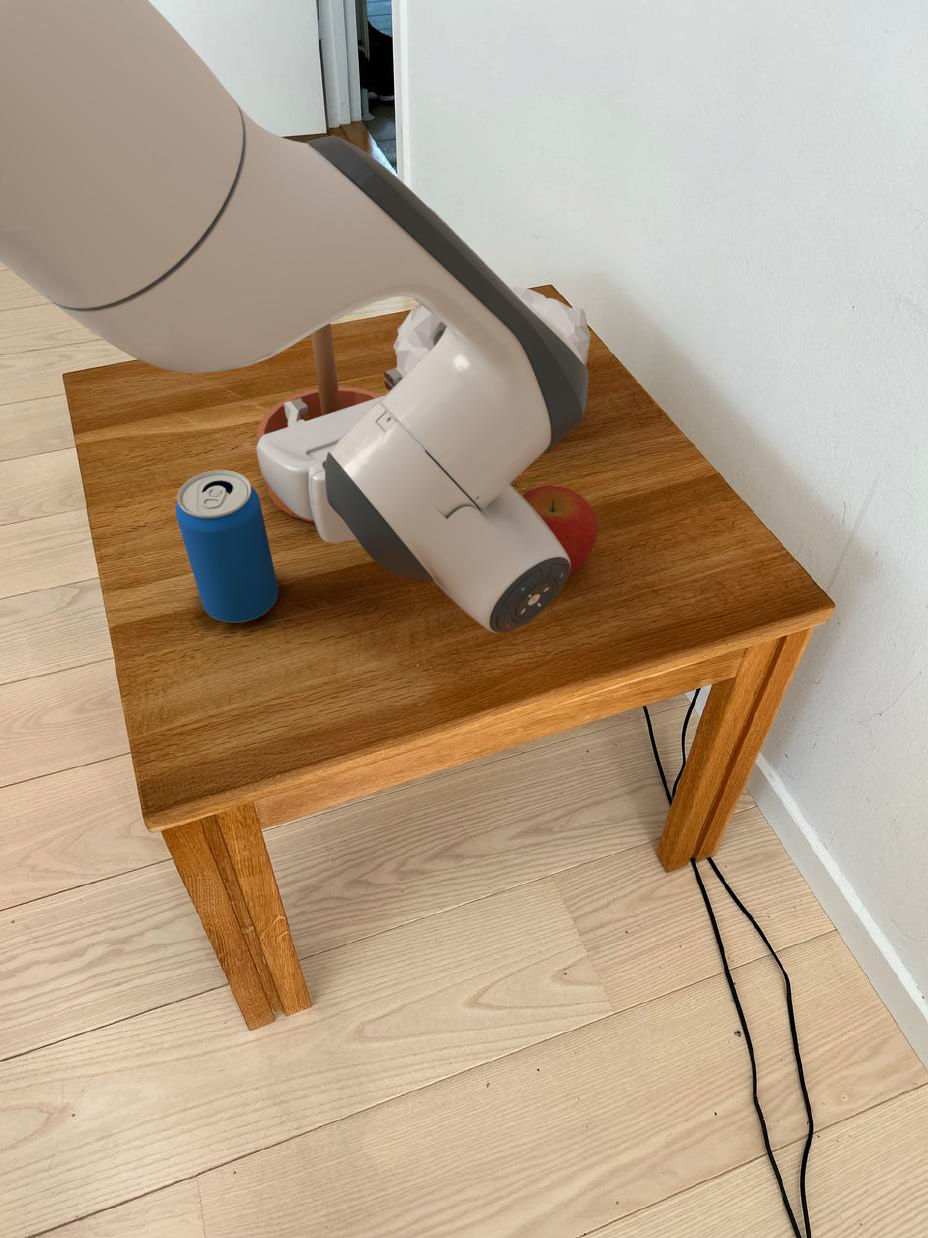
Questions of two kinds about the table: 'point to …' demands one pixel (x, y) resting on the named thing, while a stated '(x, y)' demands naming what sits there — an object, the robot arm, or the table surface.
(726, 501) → the table surface
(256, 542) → the beverage can
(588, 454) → the table surface
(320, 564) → the table surface
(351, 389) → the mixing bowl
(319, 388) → the plunger
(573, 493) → the apple
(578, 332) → the bowl
